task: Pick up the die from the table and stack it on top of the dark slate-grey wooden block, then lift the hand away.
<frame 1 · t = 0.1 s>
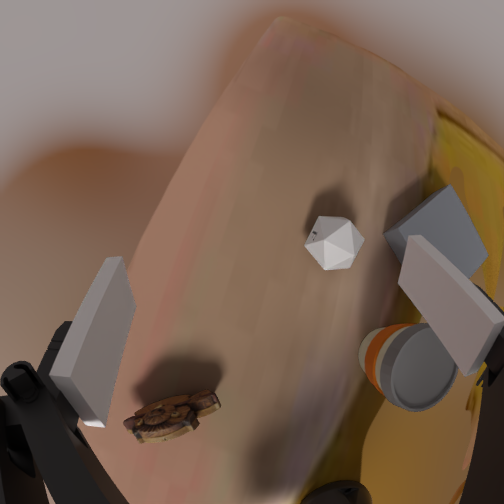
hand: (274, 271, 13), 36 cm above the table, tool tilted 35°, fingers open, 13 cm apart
die: (327, 246, 51), on the table
reusable coffee cup: (380, 352, 49), on the table
slate block: (430, 247, 52), on the table
wooden carving: (174, 404, 46), on the table
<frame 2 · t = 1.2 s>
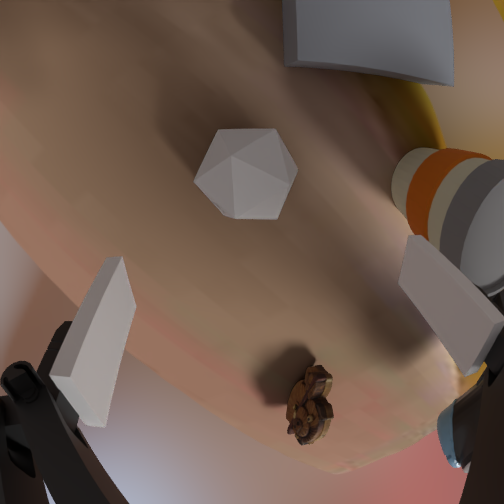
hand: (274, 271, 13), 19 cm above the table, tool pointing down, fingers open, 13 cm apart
die: (244, 164, 30), on the table
reusable coffee cup: (420, 182, 33), on the table
slate block: (357, 5, 23), on the table
wooden carving: (300, 385, 48), on the table
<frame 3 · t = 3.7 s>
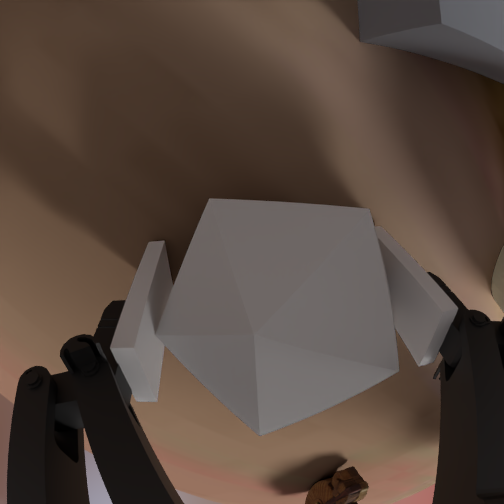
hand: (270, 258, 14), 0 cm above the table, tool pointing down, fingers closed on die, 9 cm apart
die: (269, 254, 15), on the table, touching gripper
wooden carving: (324, 478, 33), on the table
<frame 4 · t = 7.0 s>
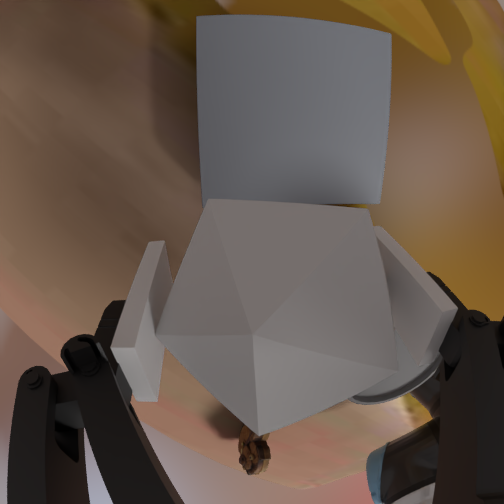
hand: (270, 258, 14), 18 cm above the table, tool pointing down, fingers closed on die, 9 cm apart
die: (268, 254, 15), point 17 cm above the table, touching gripper
reusable coffee cup: (349, 277, 38), on the table
slate block: (285, 107, 28), on the table
wooden carving: (249, 425, 53), on the table
when the fingers open (8 cm above the table, at t = 10.2 s): die drops 2 cm, resting on slate block.
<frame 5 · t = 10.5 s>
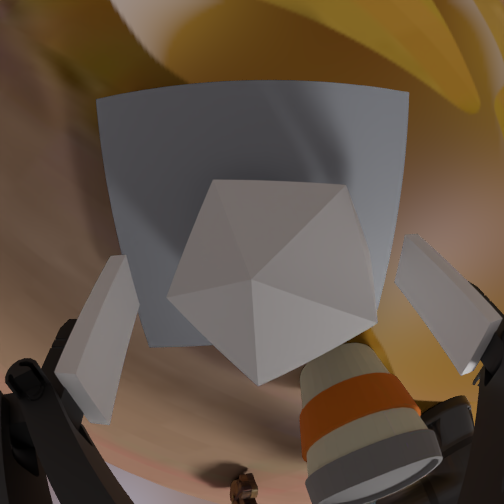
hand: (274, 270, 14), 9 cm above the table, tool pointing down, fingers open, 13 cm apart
die: (264, 232, 17), point 5 cm above the table, touching slate block
reusable coffee cup: (338, 369, 32), on the table
slate block: (253, 197, 22), on the table, touching die
wooden carving: (239, 478, 48), on the table
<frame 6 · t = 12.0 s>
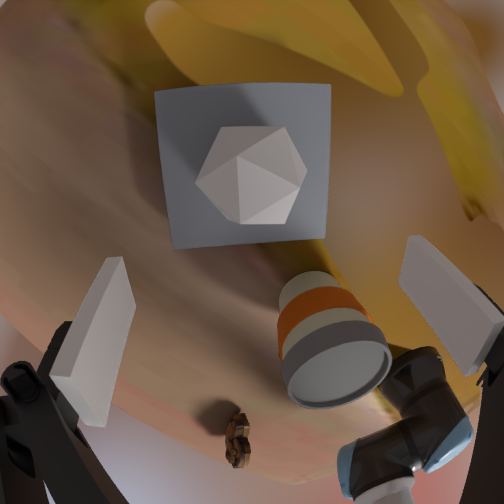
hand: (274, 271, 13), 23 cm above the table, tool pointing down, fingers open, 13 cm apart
die: (249, 164, 28), point 5 cm above the table
reusable coffee cup: (309, 296, 44), on the table
slate block: (242, 155, 33), on the table
wooden carving: (234, 423, 59), on the table
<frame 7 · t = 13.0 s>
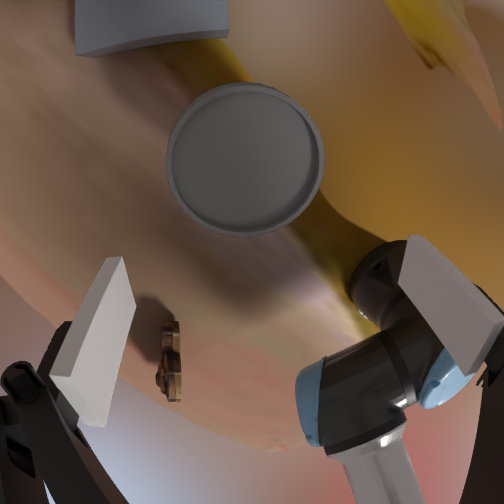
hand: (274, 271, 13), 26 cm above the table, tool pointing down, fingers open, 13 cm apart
reusable coffee cup: (234, 133, 35), on the table
wooden carving: (171, 343, 52), on the table
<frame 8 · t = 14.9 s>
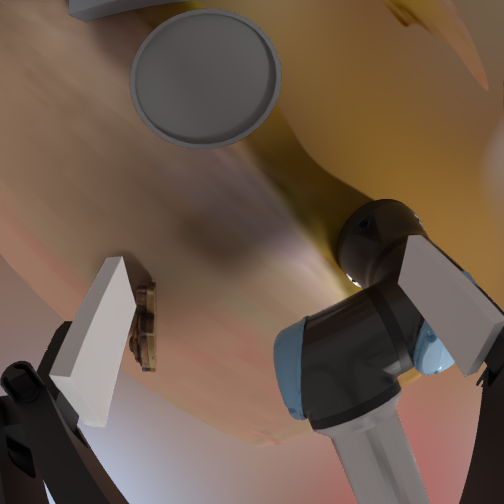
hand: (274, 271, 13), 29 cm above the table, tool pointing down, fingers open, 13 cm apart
reusable coffee cup: (210, 83, 34), on the table
wooden carving: (150, 310, 50), on the table
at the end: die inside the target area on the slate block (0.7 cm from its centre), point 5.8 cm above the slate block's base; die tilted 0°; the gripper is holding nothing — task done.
